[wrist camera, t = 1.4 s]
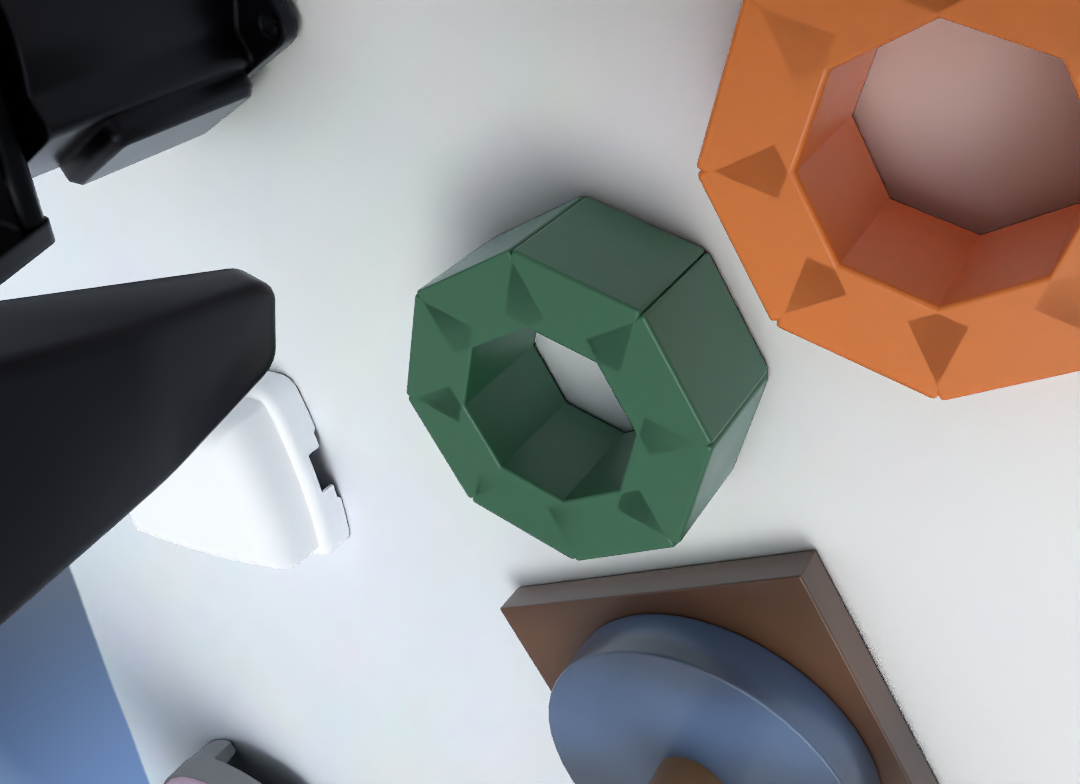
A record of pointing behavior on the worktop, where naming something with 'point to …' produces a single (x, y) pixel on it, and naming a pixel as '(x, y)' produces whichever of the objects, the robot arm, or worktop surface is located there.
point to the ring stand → (713, 678)
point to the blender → (211, 767)
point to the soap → (251, 487)
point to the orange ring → (882, 204)
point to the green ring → (625, 360)
